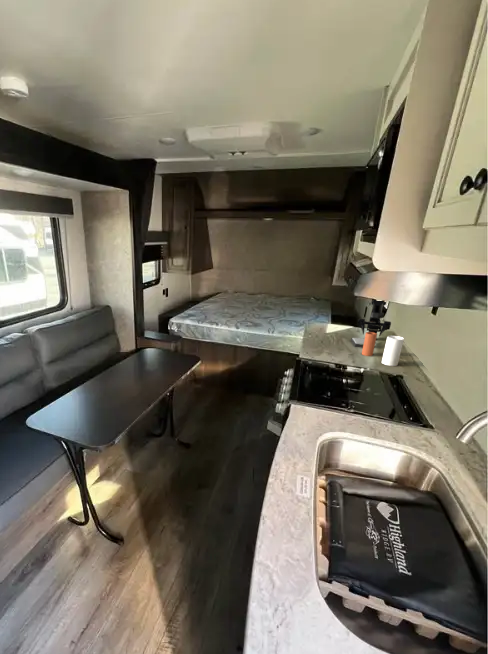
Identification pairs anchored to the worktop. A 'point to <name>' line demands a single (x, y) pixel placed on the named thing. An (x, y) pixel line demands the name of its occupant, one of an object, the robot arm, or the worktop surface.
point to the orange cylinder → (369, 343)
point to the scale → (358, 342)
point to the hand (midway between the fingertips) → (371, 335)
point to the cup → (392, 350)
